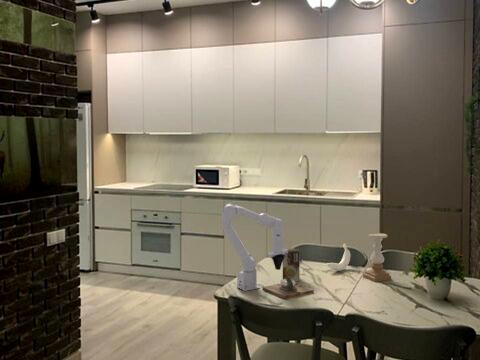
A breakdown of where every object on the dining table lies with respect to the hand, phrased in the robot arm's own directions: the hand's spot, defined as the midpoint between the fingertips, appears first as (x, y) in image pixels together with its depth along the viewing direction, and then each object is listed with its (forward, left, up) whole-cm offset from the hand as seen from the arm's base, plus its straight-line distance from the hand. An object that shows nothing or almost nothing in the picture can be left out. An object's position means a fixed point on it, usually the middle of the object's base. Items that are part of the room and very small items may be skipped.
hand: (277, 269), depth 264 cm
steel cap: (-1, -10, -7) cm, 12 cm away
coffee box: (+15, +8, -10) cm, 20 cm away
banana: (+49, +7, -10) cm, 51 cm away
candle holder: (+54, -17, -10) cm, 57 cm away
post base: (0, -8, -9) cm, 12 cm away
